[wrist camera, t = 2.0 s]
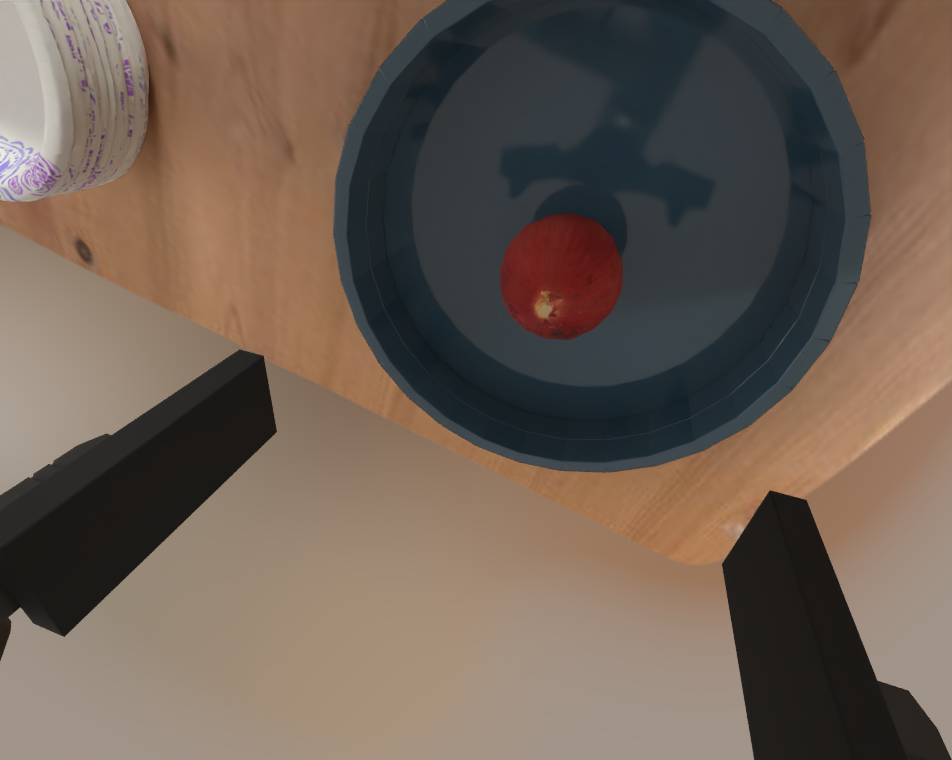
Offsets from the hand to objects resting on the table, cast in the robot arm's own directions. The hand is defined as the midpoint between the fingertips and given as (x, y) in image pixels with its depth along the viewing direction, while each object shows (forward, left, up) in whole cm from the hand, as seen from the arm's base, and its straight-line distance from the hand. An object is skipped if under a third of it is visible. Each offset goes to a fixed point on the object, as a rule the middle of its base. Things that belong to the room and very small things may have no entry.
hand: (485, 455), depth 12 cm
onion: (0, 0, -17) cm, 17 cm away
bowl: (0, 0, -17) cm, 17 cm away
